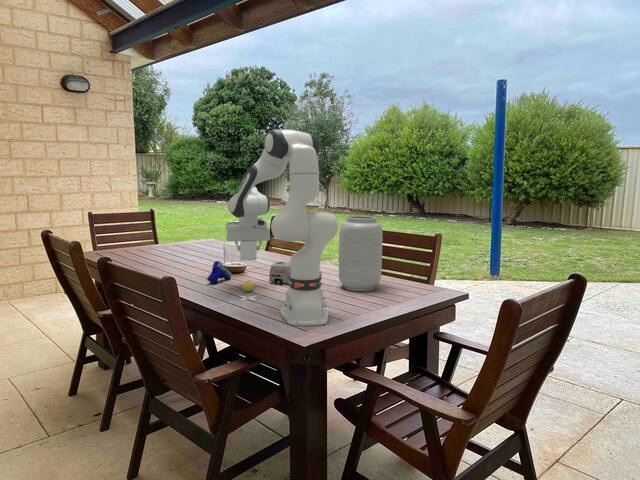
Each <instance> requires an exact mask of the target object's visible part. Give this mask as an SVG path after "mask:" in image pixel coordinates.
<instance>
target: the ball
mask: <svg viewBox="0 0 640 480" xmlns="http://www.w3.org/2000/svg"><path fill="white" fill-rule="evenodd" d="M254 287H255V284H254V282H253V281H252V280H245V281H244V282H243V284H242V288H243V289H242V290H244V291H245V292H251V291H253V290H254Z"/></svg>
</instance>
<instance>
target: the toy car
mask: <svg viewBox="0 0 640 480" xmlns="http://www.w3.org/2000/svg"><path fill="white" fill-rule="evenodd" d="M290 263H291V261H276V262H273V264H271V266H270V268H269V269H270V270H269V272H268V273H269V275H268V277H269V279H268V282H271V283H272V282H274V285H280V286H283V284H284V283H287V284H289V277H290ZM322 274H323V273H322V271H321V270H319V277H320V280H321V281H322V278H323V277H322Z"/></svg>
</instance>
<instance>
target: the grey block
mask: <svg viewBox="0 0 640 480" xmlns="http://www.w3.org/2000/svg"><path fill="white" fill-rule="evenodd" d="M239 245H240V251H239V253H240V254H239V258H240V259H239V260H240V262H241V261H243V262H246V261H257V258H258V257H257V252H258V250H256V249H257V248H256V246H257V241H239Z"/></svg>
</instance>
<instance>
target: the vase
mask: <svg viewBox="0 0 640 480" xmlns="http://www.w3.org/2000/svg"><path fill="white" fill-rule="evenodd" d="M382 263H383V227H382V224H381V223H379V222H377V217H375V216H370V215H369V216H368V215H349V216H346V218H345V221H343V222H342V223H341V224H340V226H339V233H338V280H339V282H340V283H341V285H343V286H344V289H346V290H349V291H353V292H369V291H372V290H374V289H375V287H377V286H378V285H379V283H380V282H381V279H382Z"/></svg>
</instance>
